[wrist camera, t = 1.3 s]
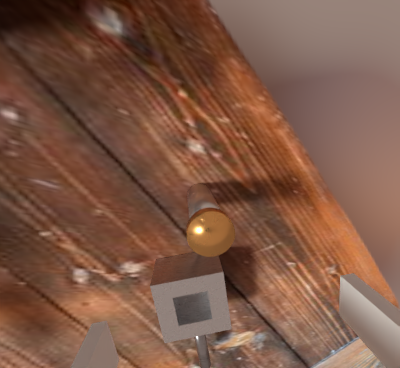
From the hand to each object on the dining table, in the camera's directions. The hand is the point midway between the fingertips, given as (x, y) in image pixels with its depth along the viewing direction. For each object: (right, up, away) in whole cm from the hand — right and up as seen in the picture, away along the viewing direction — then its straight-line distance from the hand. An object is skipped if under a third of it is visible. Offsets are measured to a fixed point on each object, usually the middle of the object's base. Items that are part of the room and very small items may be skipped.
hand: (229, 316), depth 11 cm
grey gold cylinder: (-2, +6, +22) cm, 23 cm away
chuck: (-3, -15, +27) cm, 31 cm away
